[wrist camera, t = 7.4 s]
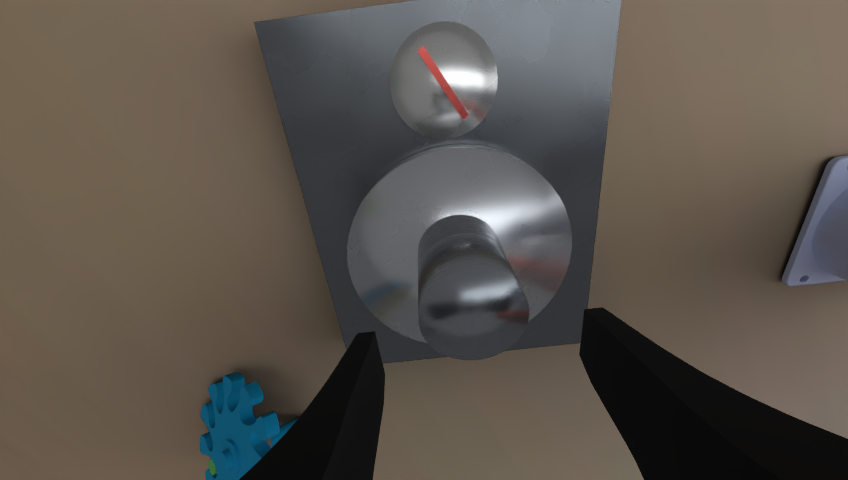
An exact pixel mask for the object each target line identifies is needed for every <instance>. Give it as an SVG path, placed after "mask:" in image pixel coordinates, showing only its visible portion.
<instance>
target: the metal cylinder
mask: <svg viewBox="0 0 848 480" xmlns="http://www.w3.org/2000/svg"><path fill="white" fill-rule="evenodd" d="M418 319H419V328H420V331H421V334H422V336H423V337H424V339H425V340H426V342H427V343H428V344H429V345H430V346H431V347H432V348H433V349H435V350H436V351H438V352H439V353H441V354H443V355H445V356H448V357H451V358H455V359H460V360H478V359H484V358H488V357H492V356H494V355H497V354H499V353H501V352H503V351H505V350H506V349H508V348H509V347H511V346H512V345H513V344H514V343H515V342H516V341H517V340H518V339H519V338H520V337H521V335H522V334H523V332H524V331H525V329H526V327H527V324H528V320H529V304H528V301H527V298H526V296H525V294H524V292H523V290H522V288H521V285H520V283H519V281H518V279H517V277H516V275H515V273H514V271H513V269H512V267H511V265H510V262H509V260H508V258H507V256H506V254H505V252H504V250H503V248H502V246H501V244H500V241H499V239H498V237H497V235H496V233H495V232H494V230H493V229H492V228H491V227H490V226H489V225H488V224H487V223H486V222H484V221H483V220H481V219H479V218H476V217H474V216H470V215H452V216H448V217H445V218H442V219H440V220H438V221H436V222H435V223H434V224H432V225H431V226H430V227H429V228H428V229H427V230H426V231H425V232H424V234H423V235H422V237H421V239H420V242H419V245H418Z"/></svg>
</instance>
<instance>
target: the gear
mask: <svg viewBox="0 0 848 480" xmlns="http://www.w3.org/2000/svg"><path fill="white" fill-rule="evenodd" d="M209 395H210V398H211V400H212V402H209V403H206V404H204V405H203V407H202V410H201V413H200V414H201V418H202V420H203V422H204V423H205V424H206V425H207V427H208V429H209V432H208V433H205V434H203V435H201V438H200V450H201V453H202V454H204V455H205V454H206V455H208V456H209V457H210V458H211V459H210V460H209V463H208V466H209V469H208V470H206V471H205V475H206V480H239V479H240V478H241V477H242V476H243V475H244V474H245V473H246V472H248V471H249V470H250V469H251V468H252V467H253V466H254V465H255V464H256V463H257V462H258V461H259V460H260V459H261V458H262V457H263V456H264V455H265V454H266V453H267V452H268V451H269V450H270V449H271V448H272V446H274V445H275V444H276V443H277V442H278V441H279V440H280V439H281V438H282V436H283V435H284V434H285V433H286V432H287V431H288V430H289V429H290V428H291V426H292V425H293V424H294V423H295V422H296V421H297V420H298V418H297V419H294V420H292V421H290V422H288V423H286V424H283V425H281V426H279V422H278V418H277V414H276V412H270V413H268V414H265V415H263V416H260V417H258V418H257V419H256V418H255V416H254V414H253V405H256V404H259V403H261V402H262V401H263V397H264V395H263V392H262V390H261V388H260V386H259V385H258V383H257V382H254V383H251V384H247V385H245V378H244V377H243V376H242V375H241V374H240V373H238V372H235V373H232V374H228V375H225V376H224V377H223V381H221V382H218V383H215V384H212V385H210V386H209Z"/></svg>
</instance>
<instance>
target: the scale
mask: <svg viewBox="0 0 848 480" xmlns="http://www.w3.org/2000/svg"><path fill="white" fill-rule="evenodd" d="M620 8H621V0H414V1H406V2H399V3H392V4H384V5H377V6H370V7H362V8H355V9H347V10H340V11H333V12H325V13H318V14H311V15H303V16H296V17H289V18H281V19H274V20H267V21H259V22H254V24H255V28H256V32H257V35H258V39H259V42H260V46H261V49H262V53H263V56H264V60H265V63H266V67H267V70H268V74H269V77H270V81H271V85H272V88H273V92H274V95H275V99H276V102H277V106H278V109H279V113H280V116H281V120H282V123H283V127H284V130H285V134H286V138H287V141H288V145H289V148H290V152H291V155H292V159H293V162H294V166H295V169H296V173H297V176H298V180H299V183H300V187H301V191H302V194H303V198H304V201H305V205H306V208H307V212H308V215H309V219H310V222H311V226H312V229H313V233H314V236H315V240H316V243H317V247H318V251H319V254H320V258H321V261H322V265H323V268H324V272H325V275H326V279H327V282H328V286H329V289H330V293H331V296H332V300H333V304H334V307H335V311H336V314H337V318H338V321H339V325H340V328H341V332H342V335H343V339H344V342H345V346H346V349H348V347H349V346H350V344H351V342H352V341H353V339H354V337H355V336H356V335H357V333H363V332H373V331H375V333H376V338H377V342H378V346H379V351H380V355H381V359H382V364H383V363H392V362H402V361H412V360H421V359H431V358H440V357H448V356H445V355H443V354H441V353H439V352H438V351H436V350H435V349H433V348H432V347H431V346H430V345H429V344H428V343H427V342H426V340H425V339H424V337H423V336H422V334H421V331H420V328H419V319H418V245H419V242H420V239H421V237H422V235H423V234H424V232H425V231H426V230H427V229H428V228H429V227H430V226H431V225H432V224H434V223H435V222H436V221H438V220H440V219H442V218H445V217H448V216H452V215H470V216H474V217H476V218H479V219H481V220H483V221H484V222H486V223H487V224H488V225H489V226H490V227H491V228H492V229H493V230H494V232H495V233H496V235H497V237H498V239H499V241H500V244H501V246H502V248H503V250H504V252H505V254H506V256H507V258H508V260H509V262H510V265H511V267H512V269H513V271H514V273H515V275H516V277H517V279H518V281H519V283H520V285H521V288H522V290H523V292H524V294H525V296H526V298H527V301H528V304H529V320H528V324H527V327H526V329H525V331H524V332H523V334H522V335H521V337H520V338H519V339H518V340H517V341H516V342H515V343H514V344H513V345H512V346H511V347H509V348H508V349H506V350H505V351H507V350H517V349H526V348H536V347H546V346H555V345H565V344H574V343H581V335H582V325H583V316H584V309H587V307H588V298H589V289H590V280H591V271H592V262H593V253H594V244H595V235H596V226H597V217H598V208H599V198H600V189H601V180H602V171H603V162H604V153H605V144H606V135H607V126H608V117H609V108H610V99H611V89H612V80H613V71H614V62H615V53H616V44H617V35H618V26H619V17H620Z"/></svg>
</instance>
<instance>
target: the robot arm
mask: <svg viewBox="0 0 848 480" xmlns="http://www.w3.org/2000/svg"><path fill="white" fill-rule="evenodd" d="M845 280H846V281H848V155H845V156H838V157H835V158H834V159H832V160H830V161H829V162H828V164H827V165H826V167H825V170H824V173H823V175H822V178H821V180H820V183H819V185H818V188H817V190H816V193H815V195H814V198H813V200H812V203H811V206H810V208H809V211H808V213H807V216H806V218H805V221H804V223H803V226H802V228H801V231H800V233H799V236H798V238H797V241H796V244H795V246H794V249H793V251H792V254H791V256H790V259H789V261H788V264H787V266H786V269H785V271H784V274H783V277H782V282H783V283H785V284H787V285H789V286H798V285H808V284H817V283H826V282H835V281H845ZM579 355H580V357H581V360H582V362H583V365H584V367H585V369H586V372H587V374H588V376H589V379H590V381H591V383H592V385H593V387H594V389H595V390H596V392H597V394H598V396H599V397H600V399H601V401H602V403H603V404H604V406H605V408H606V410H607V411H608V413H609V415H610V416H611V418H612V420H613V422H614V423H615V425H616V427H617V429H618V430H619V432H620V434H621V436H622V437H623V439H624V441H625V442H626V444H627V446H628V448H629V450H630V451H631V453H632V455H633V457H634V459H635V461H636V463H637V465H638V467H639V469H640V472H641V474H642V476H643V478H644V480H848V439H847V438H844V437H841V436H839V435H836V434H834V433H831V432H829V431H826V430H824V429H821V428H819V427H816V426H814V425H811V424H809V423H807V422H804V421H802V420H799V419H797V418H795V417H792V416H790V415H788V414H785V413H783V412H781V411H779V410H777V409H775V408H772V407H770V406H768V405H766V404H764V403H761V402H759V401H757V400H755V399H753V398H751V397H749V396H747V395H745V394H743V393H741V392H739V391H737V390H735V389H733V388H731V387H729V386H727V385H725V384H723V383H721V382H719V381H718V380H716V379H714V378H712V377H710V376H708V375H706V374H705V373H703V372H701V371H699V370H698V369H696V368H694V367H693V366H691V365H689V364H688V363H686V362H684V361H683V360H681V359H679V358H678V357H676V356H674V355H673V354H671V353H670V352H668V351H666V350H665V349H663V348H662V347H660V346H659V345H657V344H656V343H654V342H652V341H651V340H649V339H648V338H646V337H645V336H644V335H642V334H641V333H639V332H638V331H636V330H635V329H633V328H632V327H630V326H629V325H627V324H626V323H625V322H623V321H622V320H620V319H619V318H617V317H616V316H614V315H613V314H612V313H610V312H609V311H607V310H606V309H604V308H592V309H584V316H583V325H582V335H581V344H580V354H579ZM384 385H385V373H384V368H383V364H382V359H381V355H380V351H379V346H378V342H377V338H376V333H375V331H373V332H363V333H357V335H356V336H355V337H354V339H353V341H352V342H351V344H350V346H349V347H348V349H347V351H346V352H345V354H344V356H343V357H342V359H341V360H340V362H339V364H338V365H337V367H336V368H335V370H334V371H333V373H332V374H331V376H330V377H329V379H328V380H327V382H326V383H325V384H324V386H323V387H322V389H321V390H320V391H319V393H318V394H317V395H316V397H315V398H314V399H313V401H312V402H311V403H310V405H309V406H308V407H307V408H306V410H305V411H304V412H303V413H302V415H301V416H300V417H299V418H298V420H297V421H296V422H295V423H294V424H293V425H292V426H291V428H290V429H289V430H288V431H287V432H286V433H285V434H284V435H283V436H282V438H281V439H280V440H279V441H278V442H277V443H276V444H275V445H274V446H273V447H272V448H271V449H270V450H269V451H268V452H267V453H266V454H265V455H264V456H263V457H262V458H261V459H260V460H259V461H258V462H257V463H256V464H255V465H254V466H253V467H252V468H251V469H250V470H249V471H248V472H246V473H245V474H244V475H243V476H242V477H241V478H240V479H239V480H373V472H374V465H375V458H376V451H377V445H378V438H379V432H380V425H381V419H382V412H383V405H384Z"/></svg>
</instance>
